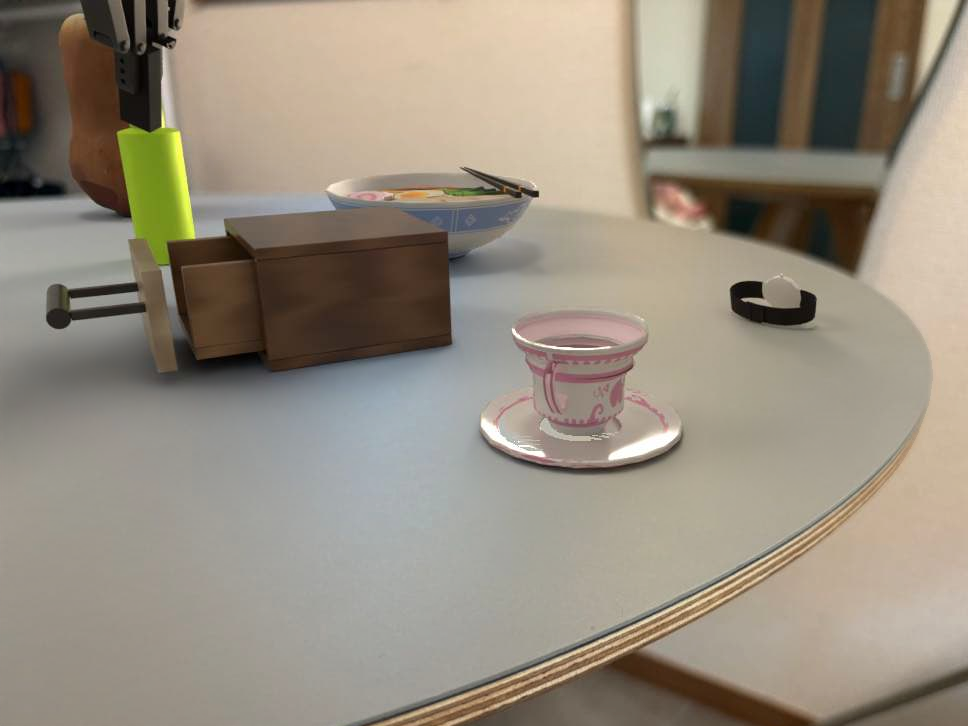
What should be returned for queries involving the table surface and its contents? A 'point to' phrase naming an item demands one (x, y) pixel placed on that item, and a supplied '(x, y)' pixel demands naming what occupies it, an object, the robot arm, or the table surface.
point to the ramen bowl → (444, 202)
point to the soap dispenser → (156, 186)
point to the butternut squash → (93, 116)
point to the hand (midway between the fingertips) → (141, 122)
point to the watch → (774, 302)
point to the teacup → (582, 392)
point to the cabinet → (347, 284)
